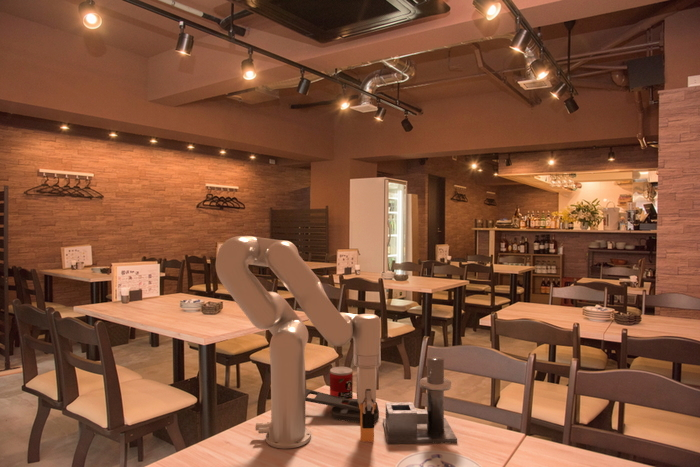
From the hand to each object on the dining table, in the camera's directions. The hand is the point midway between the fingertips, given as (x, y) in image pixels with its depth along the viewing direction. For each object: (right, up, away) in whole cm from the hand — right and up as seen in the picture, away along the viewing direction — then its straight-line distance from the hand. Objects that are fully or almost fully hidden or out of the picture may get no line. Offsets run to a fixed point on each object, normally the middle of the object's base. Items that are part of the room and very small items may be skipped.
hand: (367, 420), depth 129 cm
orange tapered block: (0, -5, 0) cm, 5 cm away
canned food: (-8, -5, +28) cm, 29 cm away
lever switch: (+15, -5, +4) cm, 16 cm away
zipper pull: (-8, -6, +17) cm, 19 cm away
